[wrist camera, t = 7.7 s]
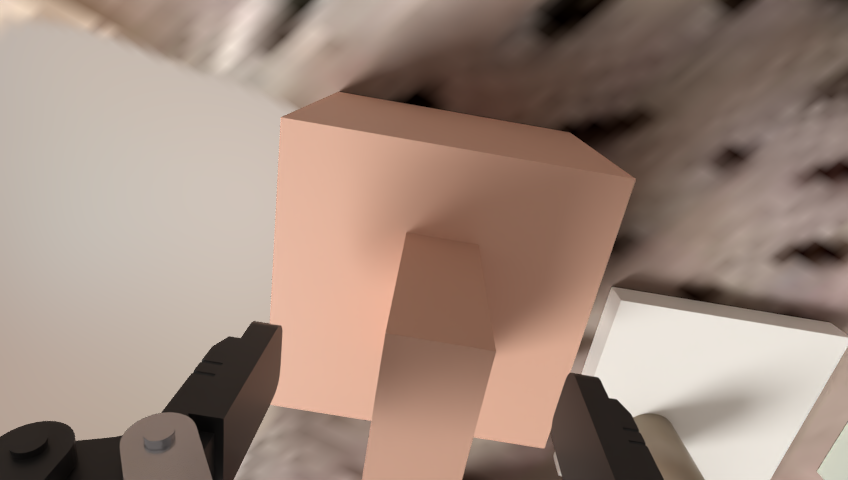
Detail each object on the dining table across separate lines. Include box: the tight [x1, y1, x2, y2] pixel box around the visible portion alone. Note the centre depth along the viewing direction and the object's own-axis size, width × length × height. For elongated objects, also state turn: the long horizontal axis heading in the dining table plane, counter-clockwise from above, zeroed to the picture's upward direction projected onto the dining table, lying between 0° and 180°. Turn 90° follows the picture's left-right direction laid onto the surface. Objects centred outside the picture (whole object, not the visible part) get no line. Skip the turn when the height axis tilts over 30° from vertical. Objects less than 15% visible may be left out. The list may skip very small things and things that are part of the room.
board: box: [553, 287, 848, 480], centre depth 25 cm, size 12×12×8 cm
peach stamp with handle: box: [270, 92, 636, 480], centre depth 18 cm, size 11×11×15 cm
